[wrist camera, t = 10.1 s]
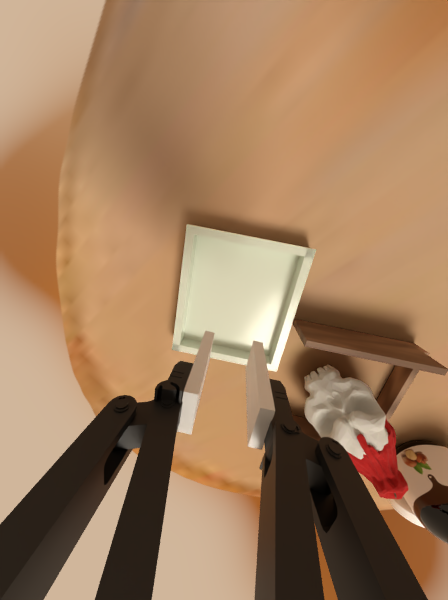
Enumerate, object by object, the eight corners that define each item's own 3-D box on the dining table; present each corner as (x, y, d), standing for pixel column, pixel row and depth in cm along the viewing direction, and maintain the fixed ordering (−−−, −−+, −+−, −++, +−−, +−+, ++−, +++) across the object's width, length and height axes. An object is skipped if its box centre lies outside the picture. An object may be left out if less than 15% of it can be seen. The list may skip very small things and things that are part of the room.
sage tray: (192, 224, 26) (186, 224, 24) (309, 247, 26) (316, 249, 24) (177, 340, 32) (172, 349, 30) (273, 360, 32) (276, 371, 29)
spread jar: (444, 431, 33) (543, 531, 22) (454, 477, 36) (546, 586, 25) (365, 449, 36) (420, 546, 25) (381, 491, 39) (436, 594, 28)
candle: (345, 352, 27) (466, 502, 18) (346, 369, 36) (429, 476, 27) (284, 384, 29) (367, 538, 20) (300, 393, 38) (362, 503, 28)
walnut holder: (294, 318, 29) (306, 340, 24) (414, 343, 29) (455, 370, 23) (263, 412, 35) (267, 448, 30) (363, 434, 35) (386, 474, 29)
